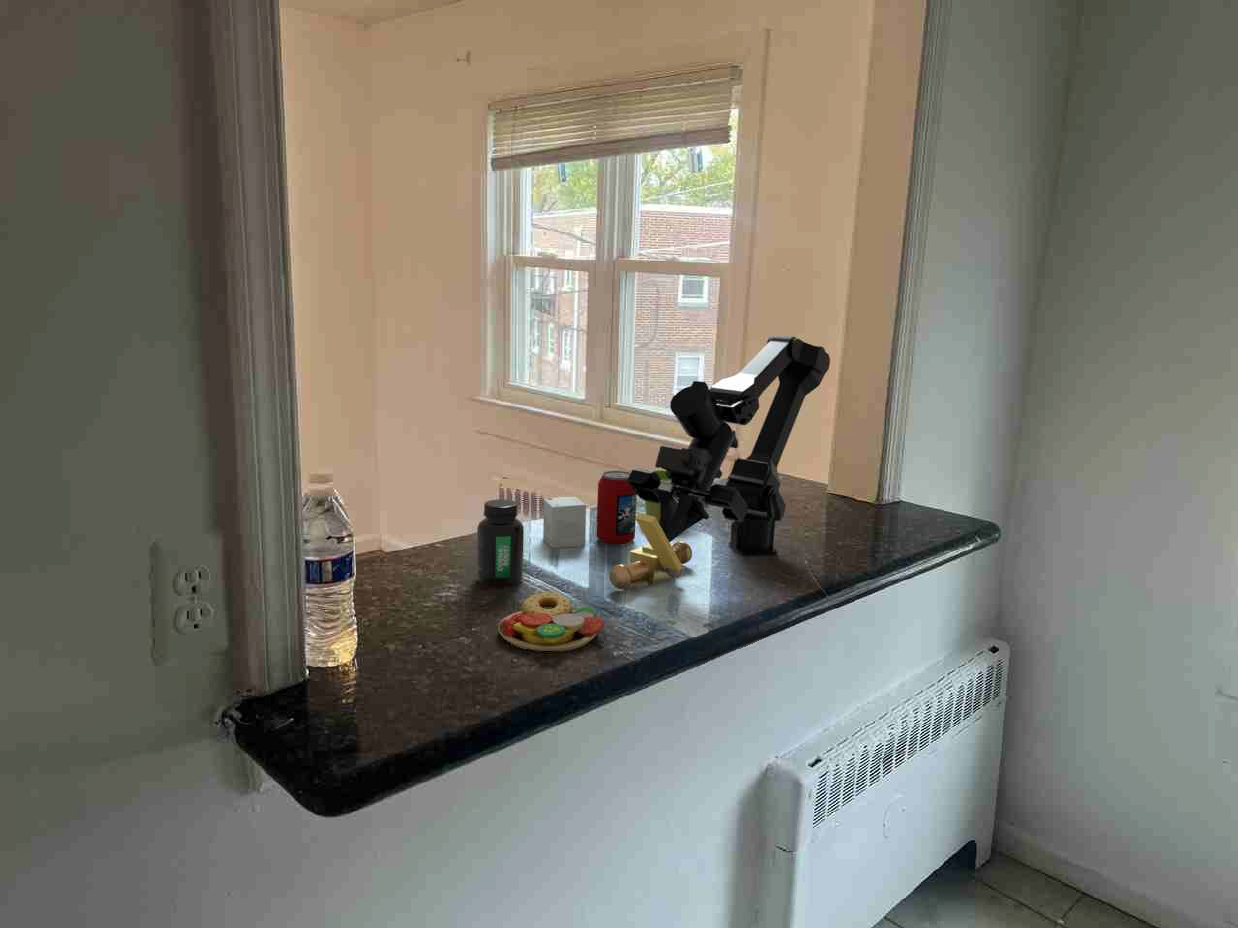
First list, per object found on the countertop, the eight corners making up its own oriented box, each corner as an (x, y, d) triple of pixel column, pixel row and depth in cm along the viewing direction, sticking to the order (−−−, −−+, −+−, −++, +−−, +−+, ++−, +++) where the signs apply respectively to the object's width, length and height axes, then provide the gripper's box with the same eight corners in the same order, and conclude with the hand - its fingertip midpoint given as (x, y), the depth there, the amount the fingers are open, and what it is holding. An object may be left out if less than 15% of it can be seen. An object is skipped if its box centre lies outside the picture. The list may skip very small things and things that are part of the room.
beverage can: (630, 548, 153) (633, 480, 150) (592, 544, 154) (594, 476, 151) (637, 537, 159) (640, 471, 157) (600, 534, 160) (603, 468, 158)
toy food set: (544, 608, 125) (545, 586, 125) (622, 632, 118) (623, 609, 117) (477, 637, 114) (477, 613, 114) (557, 666, 107) (558, 641, 106)
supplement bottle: (511, 590, 131) (512, 511, 128) (469, 584, 133) (469, 506, 130) (529, 576, 137) (531, 500, 134) (488, 570, 139) (489, 495, 136)
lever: (672, 566, 138) (640, 509, 128) (688, 571, 136) (657, 513, 127) (665, 578, 137) (632, 521, 127) (682, 582, 135) (649, 525, 126)
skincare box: (585, 546, 153) (587, 504, 151) (551, 549, 151) (552, 506, 149) (575, 536, 159) (576, 495, 157) (542, 538, 156) (542, 497, 155)
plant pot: (654, 528, 165) (656, 482, 163) (628, 515, 173) (630, 471, 171) (696, 523, 170) (699, 478, 168) (669, 510, 178) (671, 468, 176)
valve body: (672, 561, 147) (674, 531, 146) (699, 568, 144) (701, 538, 143) (603, 588, 133) (604, 556, 132) (632, 597, 130) (633, 564, 129)
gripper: (634, 416, 137) (588, 502, 131) (740, 433, 126) (695, 528, 120) (663, 456, 145) (620, 539, 139) (765, 476, 134) (723, 566, 128)
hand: (662, 542), depth 131 cm, fingers closed, pressing on lever
